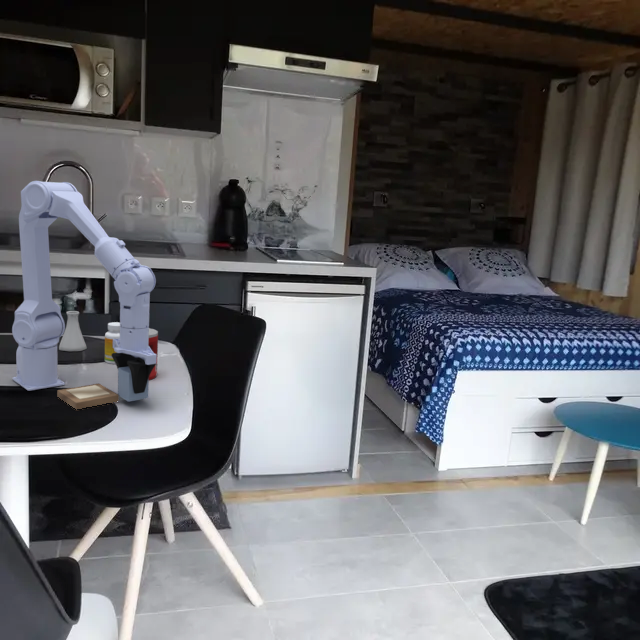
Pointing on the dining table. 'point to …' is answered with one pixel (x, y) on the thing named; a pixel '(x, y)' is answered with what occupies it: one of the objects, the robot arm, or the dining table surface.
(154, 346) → the canned food
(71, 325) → the flask
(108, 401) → the plinth
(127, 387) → the block
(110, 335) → the supplement bottle
